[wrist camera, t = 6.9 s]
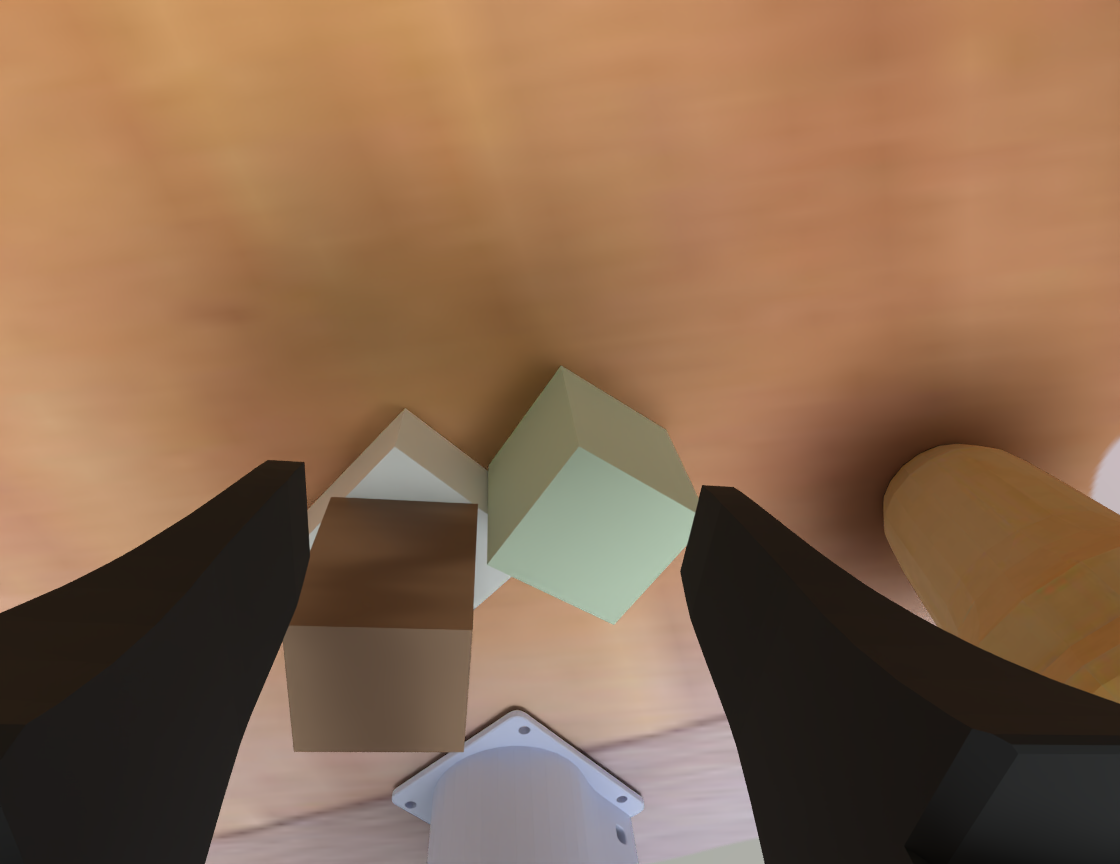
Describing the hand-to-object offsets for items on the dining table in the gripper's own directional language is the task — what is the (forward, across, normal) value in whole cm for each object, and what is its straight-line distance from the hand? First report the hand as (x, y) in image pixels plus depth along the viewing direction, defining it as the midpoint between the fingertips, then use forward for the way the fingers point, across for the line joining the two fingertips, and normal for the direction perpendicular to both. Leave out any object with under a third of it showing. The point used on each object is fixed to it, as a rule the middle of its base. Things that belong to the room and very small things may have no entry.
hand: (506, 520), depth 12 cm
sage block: (+10, -3, +4) cm, 12 cm away
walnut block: (+8, +3, +7) cm, 11 cm away
